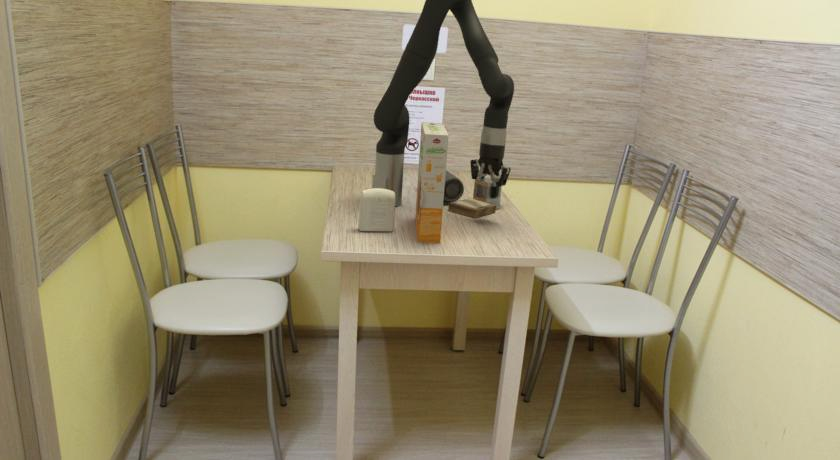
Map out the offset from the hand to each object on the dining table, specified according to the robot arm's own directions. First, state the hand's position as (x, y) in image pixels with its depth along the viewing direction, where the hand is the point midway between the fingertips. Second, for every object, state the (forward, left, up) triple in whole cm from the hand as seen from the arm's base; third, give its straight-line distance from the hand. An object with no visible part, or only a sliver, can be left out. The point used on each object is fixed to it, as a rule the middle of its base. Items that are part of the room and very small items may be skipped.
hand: (486, 195), depth 208 cm
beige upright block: (-34, +14, -8) cm, 37 cm away
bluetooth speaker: (+12, +29, -9) cm, 32 cm away
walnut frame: (+6, +10, -8) cm, 14 cm away
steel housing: (0, 0, -1) cm, 1 cm away
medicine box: (+18, +10, -9) cm, 22 cm away
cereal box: (-22, +5, -8) cm, 24 cm away
